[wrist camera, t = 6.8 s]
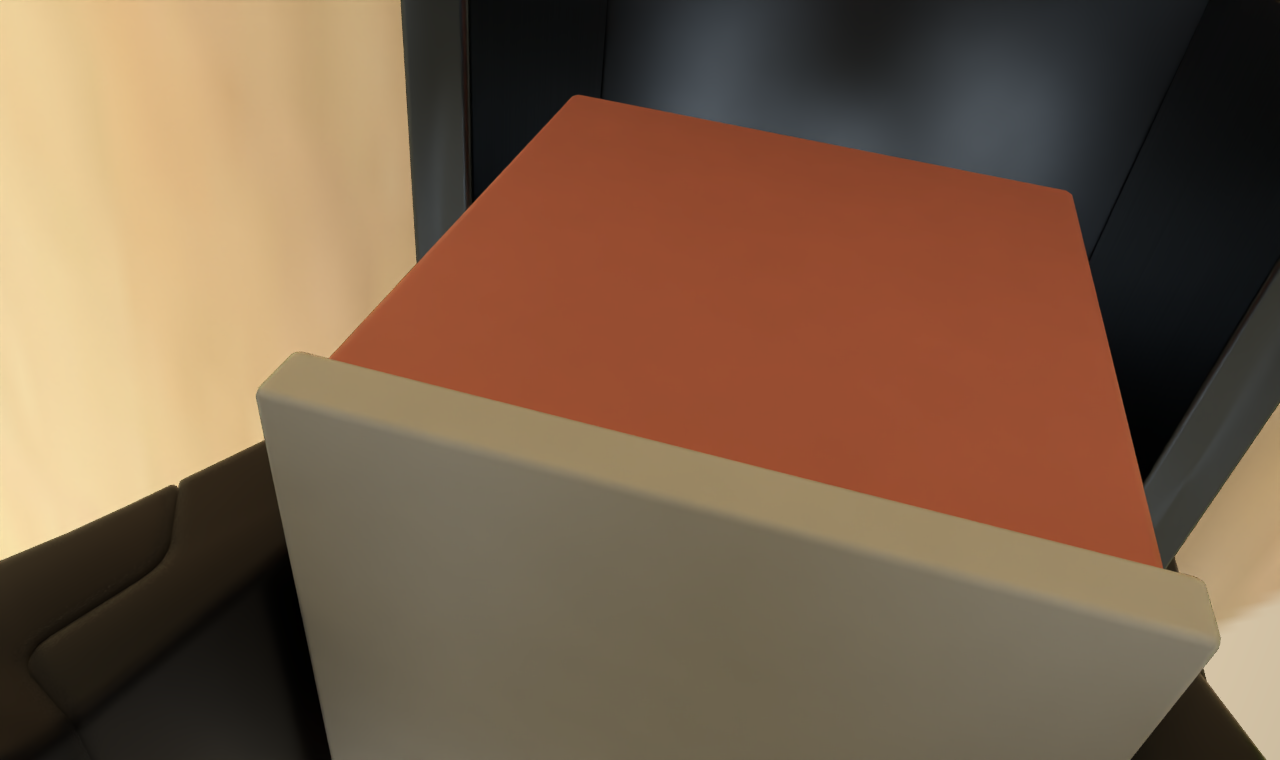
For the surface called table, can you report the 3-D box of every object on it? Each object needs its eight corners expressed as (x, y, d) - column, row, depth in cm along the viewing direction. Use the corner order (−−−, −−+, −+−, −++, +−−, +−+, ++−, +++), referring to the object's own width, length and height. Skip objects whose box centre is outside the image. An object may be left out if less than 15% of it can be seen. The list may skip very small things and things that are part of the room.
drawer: (567, -816, 11) (184, -1316, 5) (1697, -761, 9) (2791, -1419, 4) (532, 307, 20) (384, 527, 15) (1075, 435, 18) (1124, 735, 13)
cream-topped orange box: (916, 586, 11) (899, 1054, 7) (545, 487, 12) (351, 868, 8) (1092, 179, 8) (1229, 645, 4) (563, 76, 8) (250, 390, 5)
